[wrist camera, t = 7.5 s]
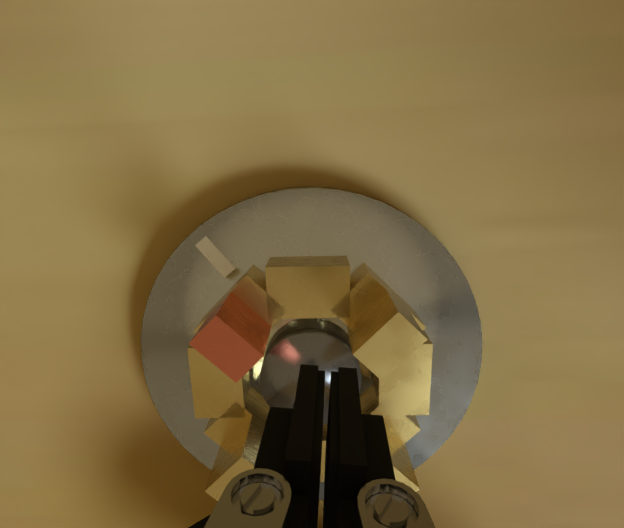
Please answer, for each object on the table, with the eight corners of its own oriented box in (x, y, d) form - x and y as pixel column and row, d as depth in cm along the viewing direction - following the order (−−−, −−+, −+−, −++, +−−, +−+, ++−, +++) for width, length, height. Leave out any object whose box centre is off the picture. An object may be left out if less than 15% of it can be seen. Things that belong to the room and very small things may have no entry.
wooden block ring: (307, 207, 23) (304, 222, 17) (465, 359, 25) (509, 416, 20) (157, 364, 26) (113, 422, 20) (314, 489, 28) (313, 573, 22)
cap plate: (539, 352, 27) (576, 384, 23) (309, 532, 31) (309, 585, 27) (313, 107, 23) (312, 97, 20) (84, 347, 27) (46, 378, 23)
